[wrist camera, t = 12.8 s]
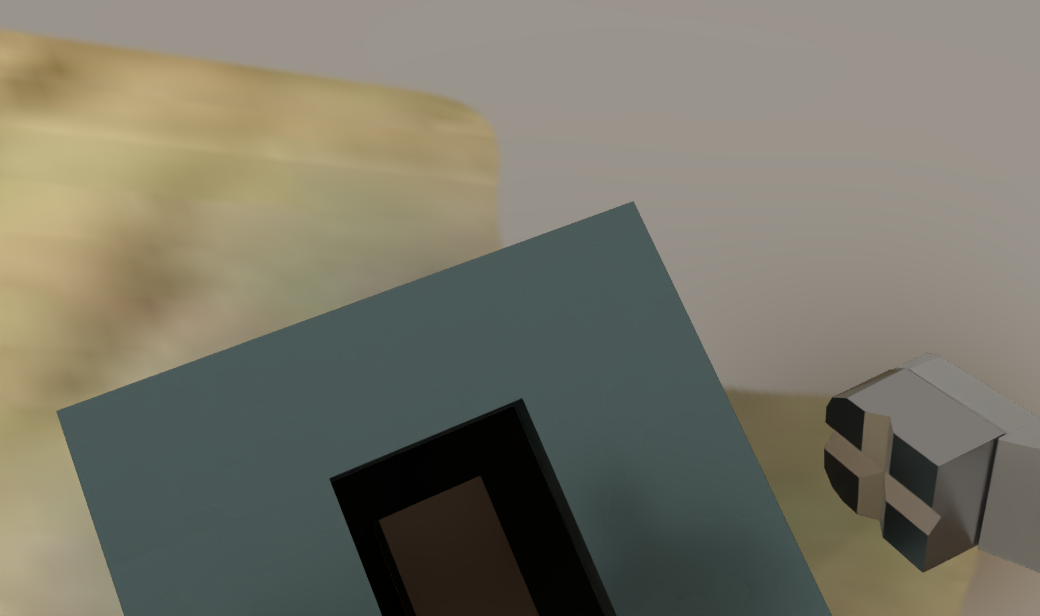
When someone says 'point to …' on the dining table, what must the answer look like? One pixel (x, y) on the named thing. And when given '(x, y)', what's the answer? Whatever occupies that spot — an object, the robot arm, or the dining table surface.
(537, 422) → the blue-gray slotted box
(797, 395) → the dining table surface
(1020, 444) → the robot arm
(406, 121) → the dining table surface
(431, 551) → the walnut block
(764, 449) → the dining table surface
